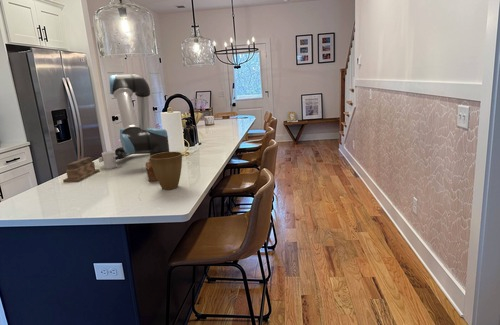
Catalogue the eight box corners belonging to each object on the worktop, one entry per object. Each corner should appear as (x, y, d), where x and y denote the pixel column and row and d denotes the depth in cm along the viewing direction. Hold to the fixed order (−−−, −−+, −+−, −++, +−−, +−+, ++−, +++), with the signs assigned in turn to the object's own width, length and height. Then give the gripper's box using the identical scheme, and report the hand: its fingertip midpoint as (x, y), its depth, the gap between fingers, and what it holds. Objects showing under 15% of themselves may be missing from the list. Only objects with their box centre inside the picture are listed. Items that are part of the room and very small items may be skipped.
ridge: (85, 172, 203) (82, 156, 201) (99, 171, 202) (97, 156, 200) (63, 182, 181) (60, 165, 179) (79, 181, 181) (76, 164, 178)
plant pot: (151, 186, 162) (147, 154, 159) (182, 181, 168) (178, 150, 164) (156, 194, 149) (151, 160, 145) (188, 188, 154) (185, 155, 151)
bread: (168, 180, 172) (166, 161, 170) (147, 183, 169) (144, 164, 167) (167, 172, 189) (165, 155, 187) (147, 174, 187) (145, 157, 184)
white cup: (106, 166, 214) (104, 151, 212) (119, 165, 215) (116, 150, 212) (102, 169, 207) (99, 153, 204) (115, 168, 207) (112, 152, 205)
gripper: (137, 157, 227) (122, 165, 205) (108, 158, 228) (90, 166, 206) (135, 146, 225) (120, 153, 203) (106, 147, 227) (88, 154, 205)
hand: (105, 160), depth 205 cm, fingers closed on white cup, 7 cm apart
